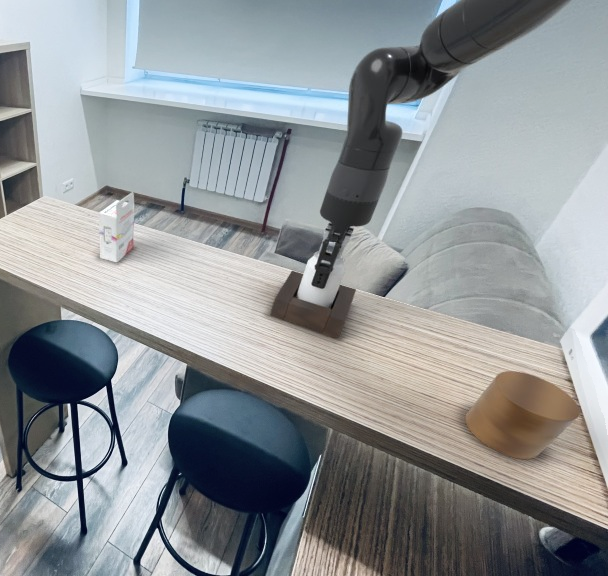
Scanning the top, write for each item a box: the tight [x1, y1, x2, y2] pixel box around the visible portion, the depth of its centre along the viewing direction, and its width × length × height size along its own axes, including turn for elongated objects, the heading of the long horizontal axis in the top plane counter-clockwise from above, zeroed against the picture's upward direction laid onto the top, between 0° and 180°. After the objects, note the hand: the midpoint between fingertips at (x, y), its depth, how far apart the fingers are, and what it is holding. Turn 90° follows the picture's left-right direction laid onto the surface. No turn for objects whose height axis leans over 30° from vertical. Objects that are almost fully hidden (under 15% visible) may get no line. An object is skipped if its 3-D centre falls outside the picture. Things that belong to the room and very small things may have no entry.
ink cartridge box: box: [98, 191, 135, 263], centre depth 94 cm, size 9×5×15 cm, turn 149°
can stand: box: [269, 270, 357, 339], centre depth 78 cm, size 12×12×4 cm
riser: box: [464, 370, 581, 460], centre depth 54 cm, size 8×8×8 cm
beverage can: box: [296, 250, 347, 309], centre depth 76 cm, size 6×6×12 cm
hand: (322, 277), depth 75 cm, fingers closed on beverage can, 6 cm apart
